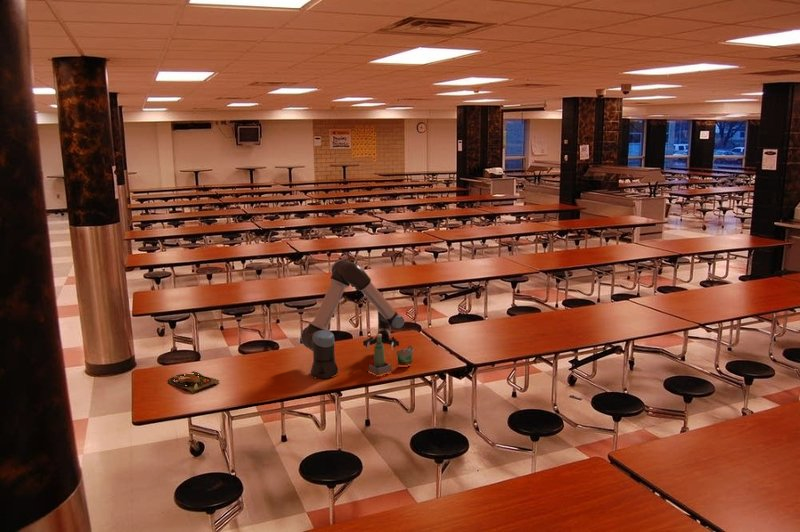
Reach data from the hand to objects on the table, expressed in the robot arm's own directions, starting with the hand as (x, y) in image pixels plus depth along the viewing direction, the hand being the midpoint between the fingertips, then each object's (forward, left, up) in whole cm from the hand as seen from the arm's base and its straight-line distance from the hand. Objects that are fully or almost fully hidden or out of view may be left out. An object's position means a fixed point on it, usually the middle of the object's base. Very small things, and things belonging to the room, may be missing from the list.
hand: (379, 348), depth 341 cm
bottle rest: (+2, -2, -13) cm, 14 cm away
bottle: (+2, -2, -13) cm, 13 cm away
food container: (+3, +17, -14) cm, 22 cm away
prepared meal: (-47, -89, -14) cm, 101 cm away
